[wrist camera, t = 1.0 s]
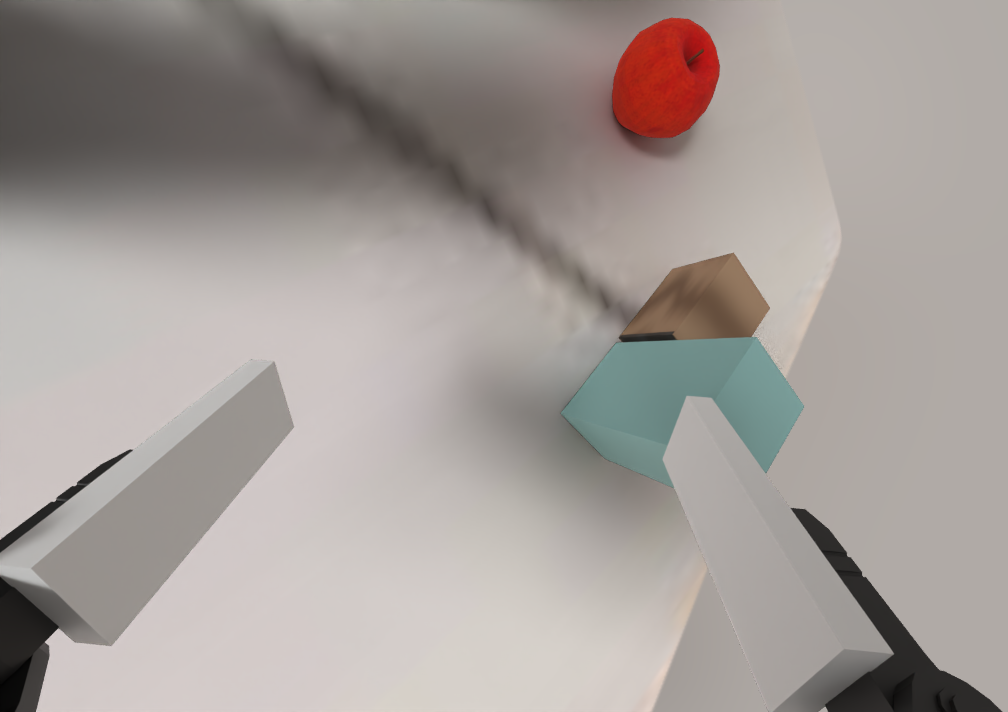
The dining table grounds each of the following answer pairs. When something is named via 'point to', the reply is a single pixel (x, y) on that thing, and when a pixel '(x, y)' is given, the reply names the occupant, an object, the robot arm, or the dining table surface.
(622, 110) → the apple
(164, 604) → the dining table surface
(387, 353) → the dining table surface
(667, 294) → the brown block
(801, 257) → the dining table surface
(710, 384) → the teal pillar
